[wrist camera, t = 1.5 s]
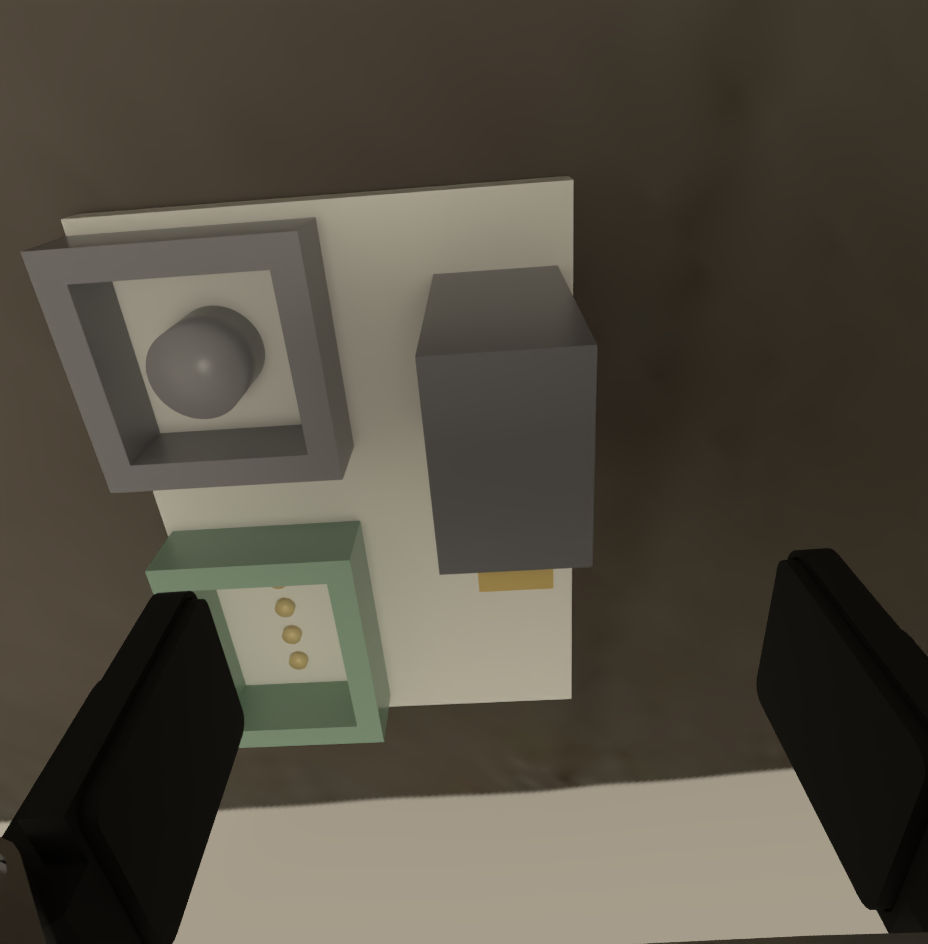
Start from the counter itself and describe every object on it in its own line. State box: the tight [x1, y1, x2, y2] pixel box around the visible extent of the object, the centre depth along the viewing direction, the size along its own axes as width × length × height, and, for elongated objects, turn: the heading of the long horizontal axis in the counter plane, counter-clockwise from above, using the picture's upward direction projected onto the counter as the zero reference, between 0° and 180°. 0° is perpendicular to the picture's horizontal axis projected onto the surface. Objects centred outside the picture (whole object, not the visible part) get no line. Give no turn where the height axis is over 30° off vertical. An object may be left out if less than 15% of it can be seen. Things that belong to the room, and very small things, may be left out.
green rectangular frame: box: [145, 521, 390, 748], centre depth 28 cm, size 8×10×3 cm
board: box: [21, 176, 574, 707], centre depth 26 cm, size 16×22×4 cm
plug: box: [415, 265, 597, 592], centre depth 20 cm, size 4×7×8 cm, turn 4°
